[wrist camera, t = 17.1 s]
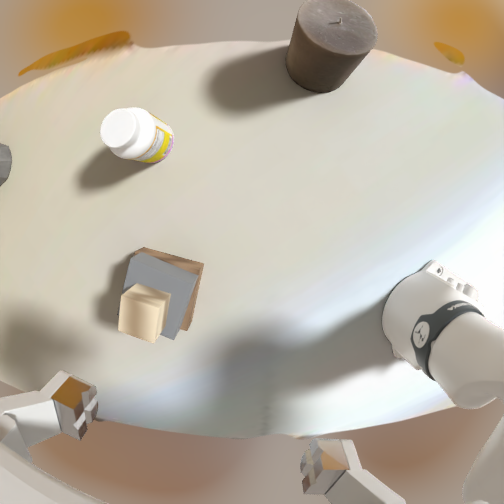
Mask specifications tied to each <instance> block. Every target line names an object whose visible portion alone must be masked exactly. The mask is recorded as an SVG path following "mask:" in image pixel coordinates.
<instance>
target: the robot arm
mask: <svg viewBox="0 0 504 504" xmlns="http://www.w3.org/2000/svg"><path fill="white" fill-rule="evenodd" d="M438 269H439V270H438ZM437 270H438V272H437ZM483 313H484V309H483V305H482V304H480V303H478V290H477V289H476V288H475V287H474V286H472V285H471V284H469V283H468V282H467V281H465V280H464V279H462V278H461V277H459V276H458V275H456V274H455V273H454V272H452V271H451V270H449V269H448V268H446V267H445V266H443V265H442V264H440V263H439V262H437V261H435V260H432V261H430V262H429V263H428V264H427V265H426V266H425V267H424V268H423V269H422V270H421V271H419V272H417V273H415V274H413V275H411V276H409V277H407V278H406V279H404V280H403V281H402V282H400V283H399V284H398V285H397V286H396V288H395V289H394V290H393V291H392V293H391V294H390V296H389V298H388V300H387V302H386V304H385V307H384V310H383V315H382V326H383V331H384V333H385V335H386V337H387V338H388V340H389V341H390V342H391V344H392V350H393V354H394V356H395V357H396V358H405V359H406V361H408V362H409V363H410V364H411V365H412V366H413V367H414V368H415V369H416V370H420V369H422V371H423V372H424V373H425V374H426V375H427V376H428V377H430V378H431V379H432V380H434V381H436V382H437V383H438V384H439V385H440V387H441V388H442V389H443V390H444V392H445V393H446V394H447V395H448V396H449V398H450V399H451V400H452V402H453V403H454V404H455V405H457V406H458V407H461V408H466V409H477V408H480V407H483V406H484V405H486V404H488V403H490V402H491V401H493V400H494V399H496V398H499V399H500V400H501V401H502V402H503V404H504V329H503V328H501V327H499V326H498V325H496V324H494V323H492V322H491V321H489V320H488V319H486V318H485V317H484V315H483ZM96 394H97V390H96V386H94V385H92V384H90V383H88V382H86V381H84V380H82V379H80V378H78V377H76V376H74V375H71V374H69V373H67V372H65V371H63V370H61V371H59V372H58V373H57V374H56V375H55V376H54V377H53V378H52V379H51V380H50V381H49V382H48V383H47V384H46V385H45V386H44V387H43V388H42V389H41V390H40V391H37V390H35V391H31V392H26V393H22V394H17V395H12V396H7V397H2V398H0V504H109V503H106V502H103V501H101V500H99V499H97V498H95V497H92V496H90V495H88V494H86V493H84V492H81V491H80V490H78V489H75V488H74V487H72V486H70V485H68V484H66V483H64V482H62V481H60V480H59V479H57V478H55V477H53V476H51V475H50V474H48V473H46V472H45V471H43V470H41V469H40V468H38V467H37V466H35V465H33V464H32V463H31V462H32V457H31V455H30V453H29V451H28V449H27V447H30V446H32V445H34V444H37V443H39V442H41V441H44V440H46V439H48V438H51V437H53V436H55V435H58V434H59V433H61V432H63V433H65V434H68V435H69V436H71V437H74V438H76V439H78V440H81V439H82V437H83V436H84V434H85V433H86V431H87V424H89V423H91V422H93V420H94V419H95V417H96V414H97V411H98V401H97V400H96V398H95V397H94V396H95V395H96ZM300 467H301V473H302V474H303V475H304V476H305V478H304V479H303V481H302V484H303V492H304V494H314V495H315V494H316V495H324V496H325V497H326V498H327V499H328V500H329V502H330V503H331V504H406V502H405V500H404V499H403V498H402V497H400V496H399V495H397V494H396V493H395V492H394V491H392V490H391V489H390V488H388V487H387V486H386V485H384V484H383V483H382V482H381V481H379V480H378V479H377V478H376V477H374V476H373V475H372V474H371V473H369V472H368V471H367V470H362V467H361V464H360V461H359V458H358V455H357V452H356V449H355V447H354V444H353V441H352V440H337V439H316V438H315V439H313V440H312V441H311V443H310V449H309V450H307V451H305V453H304V455H303V456H302V459H301V466H300ZM462 494H463V500H464V503H465V504H504V415H503V417H502V418H501V420H500V422H499V424H498V425H497V427H496V428H495V430H494V431H493V433H492V435H491V436H490V438H489V439H488V441H487V442H486V444H485V445H484V446H483V448H482V449H481V451H480V452H479V454H478V456H477V458H476V460H475V462H474V464H473V466H472V468H471V470H470V472H469V474H468V476H467V478H466V480H465V482H464V485H463V493H462Z"/></svg>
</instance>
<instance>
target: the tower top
mask: <svg viewBox="0 0 504 504" xmlns="http://www.w3.org/2000/svg"><path fill="white" fill-rule="evenodd" d="M198 276H199V275H196V274H194V273H191V272H189V271H186V270H184V269H181V268H179V267H177V266H174V265H172V264H169V263H167V262H164V261H162V260H160V259H157V258H155V257H153V256H150V255H148V254H146V253H143V252H141V253H139V254H137V255H135V256H134V257H132V258H131V259H130V263H129V267H128V271H127V275H126V279H125V283H124V287H123V291H122V294H124V293H125V292H126V291H127V290H129V289H130V288H131V287H132V286H134V285H135V284H136V283H138V284H142V285H145V286H148V287H151V288H154V289H157V290H161V291H164V292H167V293H170V294H171V297H170V302H169V308H168V314H167V320H166V326H165V328H164V329H163V331H162V332H161V334H160V335H163V336H165V337H167V338H170V339H172V340H174V339H175V337H176V335H177V333H178V331H179V330H180V328H181V325H182V322H183V319H184V316H185V313H186V310H187V307H188V304H189V301H190V298H191V295H192V293H193V290H194V287H195V284H196V281H197V278H198ZM120 302H121V300H120ZM119 313H120V304H119V309H118V314H117V315H119Z"/></svg>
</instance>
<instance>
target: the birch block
mask: <svg viewBox="0 0 504 504" xmlns="http://www.w3.org/2000/svg"><path fill="white" fill-rule="evenodd" d="M170 297H171V294H170V293H167V292H164V291H161V290H157V289H154V288H151V287H148V286H145V285H142V284H138V283H136V284H135V285H134V286H132V287H131V288H130V289H129V290H127V291H126V292H125V293H124V294H122V295H121V302H120V313H119V325H118V331H120V332H123V333H126V334H128V335H131V336H134V337H137V338H139V339H142V340H145V341H148V342H151V343H155V341H156V340H157V338H158V337H159V335H160V334H161V332H162V331H163V329H164V328H165V326H166V320H167V314H168V308H169V302H170Z"/></svg>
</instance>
